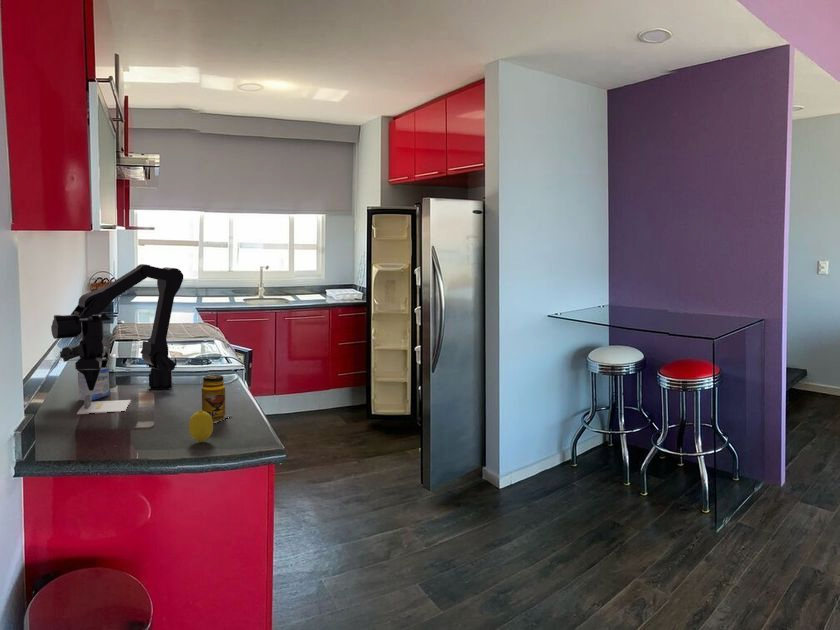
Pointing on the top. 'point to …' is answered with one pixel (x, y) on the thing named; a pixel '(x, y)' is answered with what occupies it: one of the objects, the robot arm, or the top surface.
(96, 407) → the board
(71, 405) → the top surface
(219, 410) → the condiment
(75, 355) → the robot arm
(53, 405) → the top surface
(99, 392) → the medicine box
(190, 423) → the lemon
